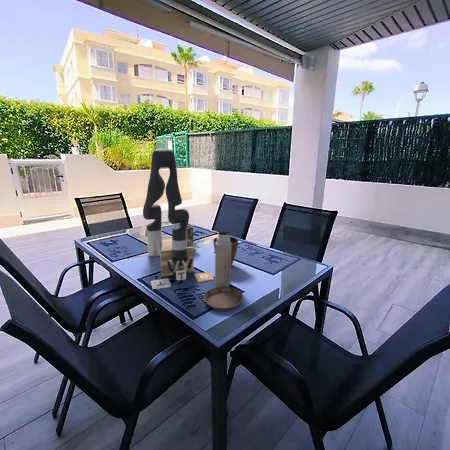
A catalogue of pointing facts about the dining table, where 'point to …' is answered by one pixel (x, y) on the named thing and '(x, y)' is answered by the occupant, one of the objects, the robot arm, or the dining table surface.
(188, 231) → the coffee box
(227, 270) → the thermos bottle
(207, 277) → the pad
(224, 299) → the plant saucer
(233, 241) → the plant pot
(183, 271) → the letter cube
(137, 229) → the dining table surface
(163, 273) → the screen
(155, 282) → the pad
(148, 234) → the robot arm
